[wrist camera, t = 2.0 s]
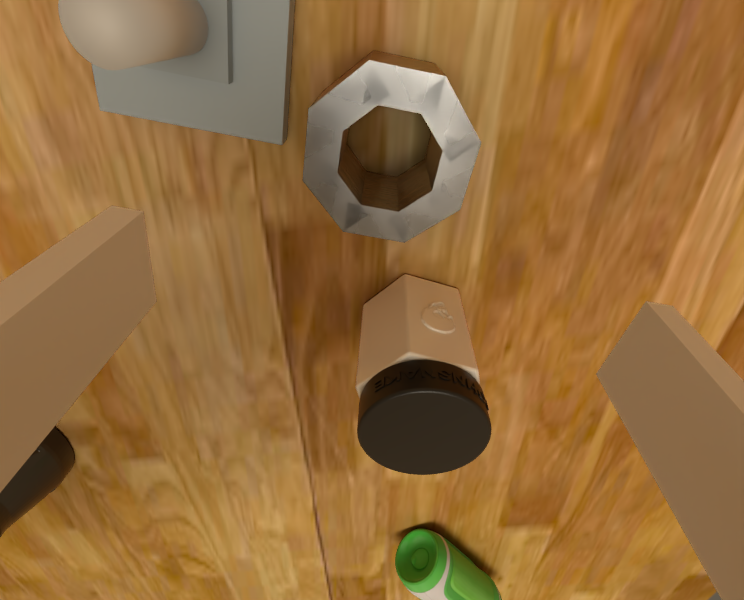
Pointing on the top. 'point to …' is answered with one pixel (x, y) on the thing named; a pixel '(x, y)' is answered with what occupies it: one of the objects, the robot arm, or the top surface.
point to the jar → (419, 380)
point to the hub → (383, 192)
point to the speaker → (440, 570)
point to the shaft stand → (190, 61)
